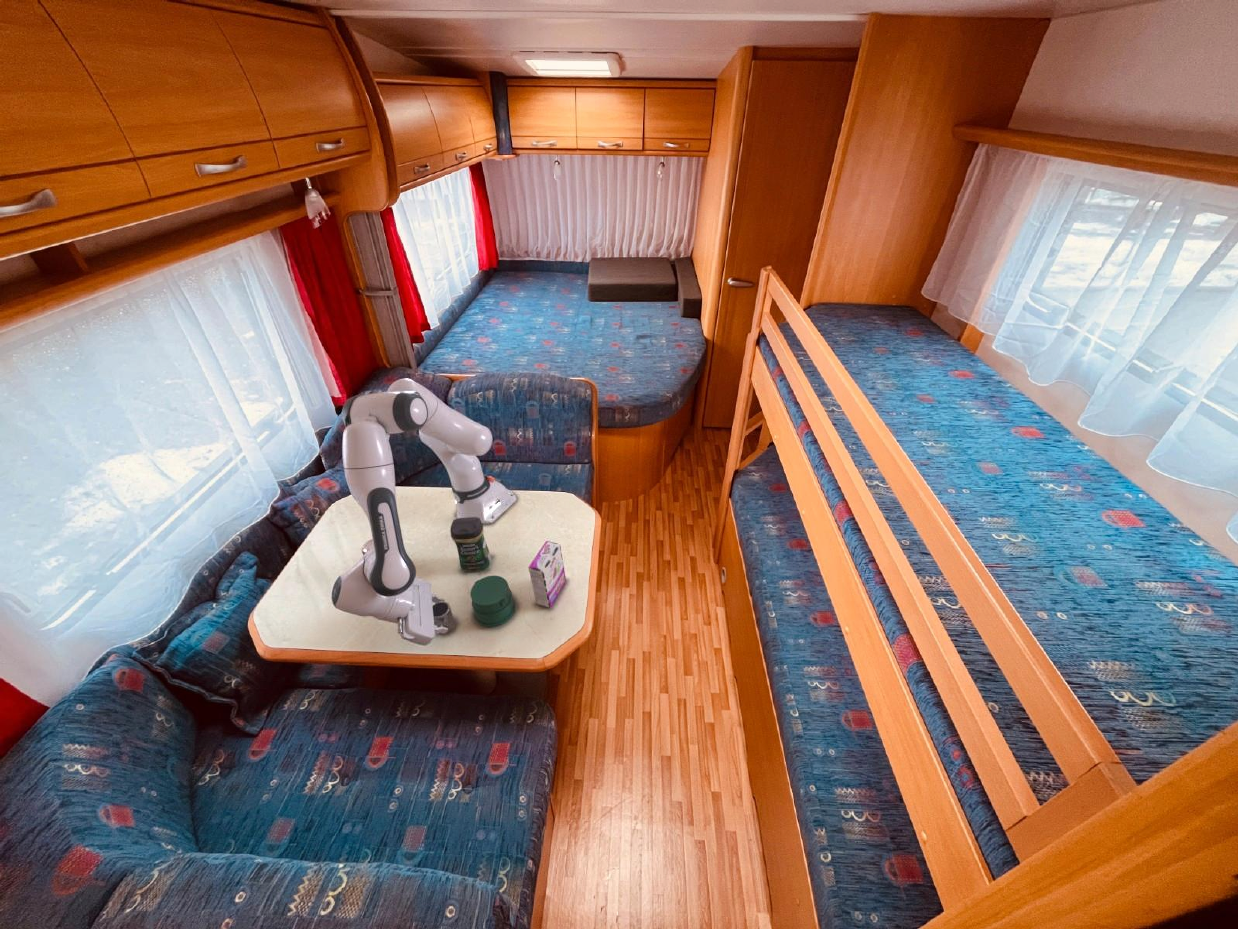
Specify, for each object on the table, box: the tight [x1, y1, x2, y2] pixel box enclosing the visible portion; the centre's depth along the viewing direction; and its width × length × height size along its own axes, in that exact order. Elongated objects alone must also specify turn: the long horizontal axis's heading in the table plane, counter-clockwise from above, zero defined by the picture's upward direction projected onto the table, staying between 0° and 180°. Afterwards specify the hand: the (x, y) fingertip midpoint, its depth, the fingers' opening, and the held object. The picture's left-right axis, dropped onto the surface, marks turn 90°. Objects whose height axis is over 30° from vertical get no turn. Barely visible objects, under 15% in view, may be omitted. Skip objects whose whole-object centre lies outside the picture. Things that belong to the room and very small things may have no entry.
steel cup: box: [432, 601, 457, 635], centre depth 132 cm, size 5×5×8 cm
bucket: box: [469, 575, 517, 628], centre depth 136 cm, size 12×12×9 cm
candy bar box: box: [527, 540, 567, 609], centre depth 138 cm, size 11×5×16 cm, turn 160°
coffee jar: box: [449, 517, 492, 573], centre depth 148 cm, size 10×8×19 cm
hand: (445, 616), depth 132 cm, fingers open, 8 cm apart
